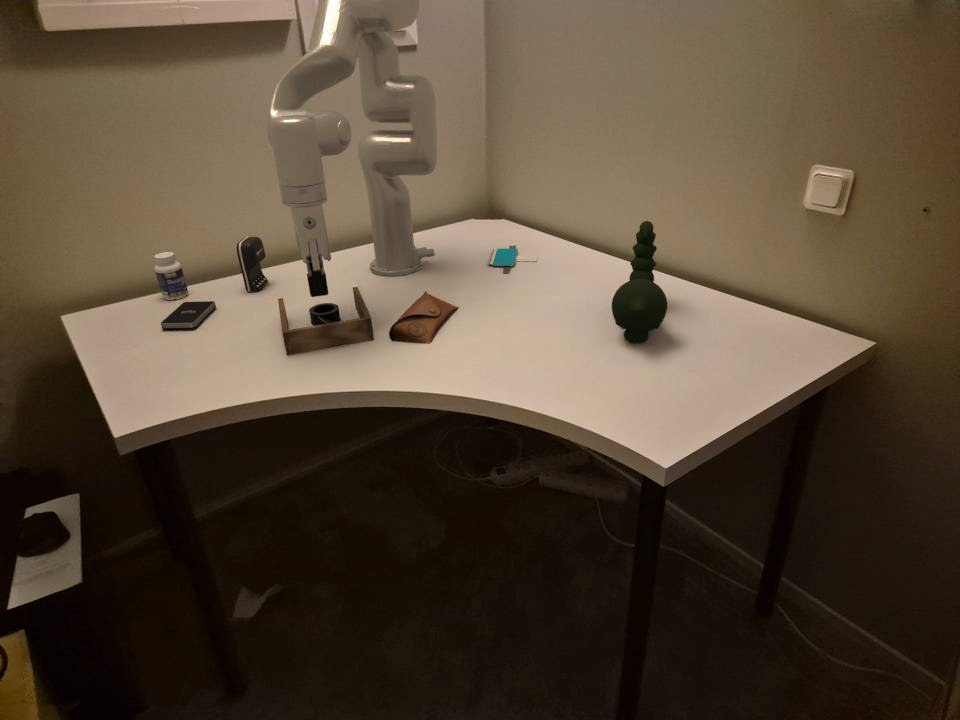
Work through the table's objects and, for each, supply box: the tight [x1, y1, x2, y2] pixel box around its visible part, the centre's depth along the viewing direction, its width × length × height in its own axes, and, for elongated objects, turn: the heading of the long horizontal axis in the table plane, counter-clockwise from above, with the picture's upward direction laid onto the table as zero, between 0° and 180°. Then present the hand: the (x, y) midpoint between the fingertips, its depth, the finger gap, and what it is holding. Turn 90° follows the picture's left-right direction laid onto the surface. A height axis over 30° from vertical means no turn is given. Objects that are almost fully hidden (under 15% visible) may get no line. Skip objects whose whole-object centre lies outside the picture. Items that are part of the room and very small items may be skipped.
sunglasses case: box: [388, 290, 460, 345], centre depth 124 cm, size 18×7×7 cm
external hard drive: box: [160, 300, 217, 332], centre depth 129 cm, size 7×11×2 cm, turn 178°
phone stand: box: [488, 245, 538, 274], centre depth 155 cm, size 20×12×2 cm, turn 173°
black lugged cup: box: [308, 302, 342, 326], centre depth 126 cm, size 8×10×3 cm
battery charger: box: [236, 235, 269, 293], centre depth 141 cm, size 7×4×11 cm, turn 176°
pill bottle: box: [154, 251, 189, 301], centre depth 139 cm, size 5×5×10 cm
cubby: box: [277, 286, 375, 356], centre depth 122 cm, size 16×17×4 cm
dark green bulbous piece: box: [611, 220, 668, 344], centre depth 115 cm, size 10×19×26 cm
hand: (319, 294), depth 115 cm, fingers closed
